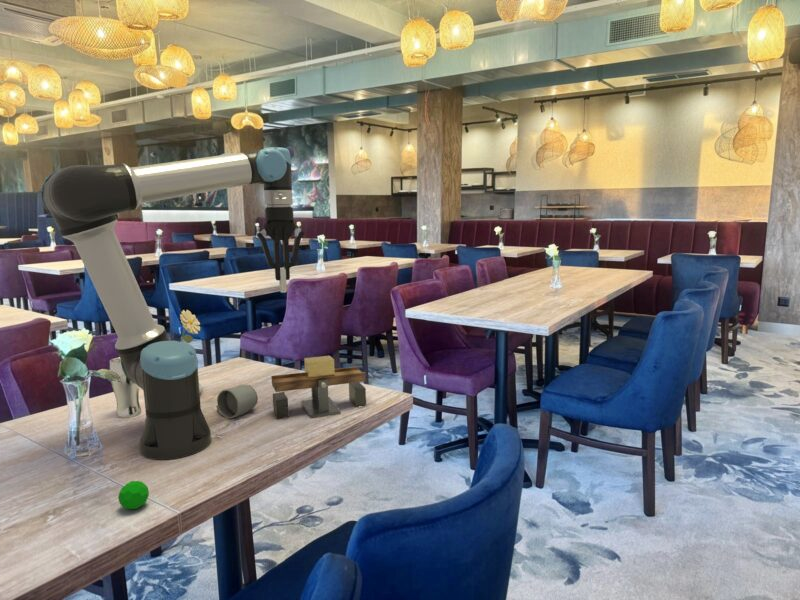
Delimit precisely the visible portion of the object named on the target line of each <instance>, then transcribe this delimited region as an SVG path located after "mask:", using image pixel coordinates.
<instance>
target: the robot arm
mask: <svg viewBox="0 0 800 600" xmlns="http://www.w3.org/2000/svg"><path fill="white" fill-rule="evenodd" d="M291 159H292V158H291V152H290V151H289V149H288V148H286V147H281V146H280V147H277V146H276V147H275V146H274V147H271V146H270V147H265V148H262V149H257V150H250V151H243V152H235V153H234V152H231V153H221V154H220V155H213V156H206V157H205V156H204V157H200V158H191V159H184V160H183V159H182V160H177V161H170V162H162V163H154V164H148V165H139V166H132V167H130V166H128V164H125V163H117V164H102V165H101V164H98V165H94V164H92V165H91V164H89V165H88V164H76V165H71V166H66V167H64V168H63V167H62V168H60V169H58V170H55V171H52V172H51V173H50V174H49V175H48V176H47V177H46V178H45V179H44V181H43V183H42V186H41V190H40V197H41V203H42V205H43V207H44V209H45V210H46V212H47V213H48V214H49V215H50V216H52V219H53V220H54V222H55V224H56V226H57V229H58V231H59V233H60V235H61V237H62V238H64V239H65V240H68V241H70V242H72V243H73V244H74V247H75V248H76V251H77V252H78V255H79V257H80V259H81V262H82V263H83V266H84V268H85V270H86V272H87V274H88V276H89V278H90V280H91V283H92V285H93V287H94V289H95V291H96V293H97V295H98V298H99V299H100V301H101V303H102V305H103V308H104V310H105V312H106V314H107V316H108V319H109V321H110V323H111V326H112V327H113V329H114V331H115V334H116V335H117V340H116V342H115V344H114V349H115V350H116V352H117V354H118V357H120V359H121V366H122V370H123V372H124V374H125V375H126V377H127V378H128V379H129V380H131V381H132V382H133V383H135V384H137V385H138V386H139V389H141V390H142V391H143V397H144V399H143V400H144V408H145V409H144V410H145V421H144V424H143V428H142V432H141V436H140V440H139V446H140V448H139V449H140V453H141V455H142V456H143V457H146V458H148V459H154V460H172V459H178V458H183V457H187V456H191V455H194V454H196V453H199V452H200V451H203V450H204V449H206V448H207V447H208V446H209V445H210V444H211V442H212V434H211V433H212V432H211V428H210V426H209V424H208V422H207V419H206V418H205V415H204V413H203V411H202V406H201V395H200V393H201V392H200V391H199V383H200V380H199V368H198V366H199V360H198V355H197V351H196V348H195V347H194V346H193V345H192V344H190V343H187V342H185V341H182V342H181V341H179V340H175V341H173V340H171V339H170V337H169V335H168V332H167V330H166V328H165V326H164V325H161V324H158V323H156V321H155V320H154V318H153V315H152V313H151V311H150V308H149V305H148V304H147V302H146V300H145V297H144V295H143V293H142V291H141V289H140V286H139V284H138V281H137V279H136V277H135V274H134V272H133V270H132V268H131V265H130V263H129V261H128V258H127V256H126V254H125V251H124V250H123V247H122V245H121V243H120V241H119V238H118V236H117V234H116V231H115V227H116V224H117V222H118V219H117V216H116V215H118V214H121V213H125V212H129V211H136V210H138V208H139V207H140V205H141V204H145V203H147V204H148V203H152V202H158V201H164V200H170V199H175V198H180V197H185V196H191V195H199V194H202V193H203V194H204V193H209V192H215V191H220V190H224V189H225V190H226V189H231V188H237V187H241V186H247V185H248V186H249V185H258V184H259V185H263V193H264V196H263V197H264V199H263V201H264V205H265V206H266V207H265V208H264V211H265V214H264V215H265V217H264V218H265V225H264V227H263V229H262V230H260V231H259V232H257V233H256V237H257V238H258V239H259V241H260V244H261V247H262V250H263V253H264V258H265V260H266V264H267V265H268V266H267V267H269V268H273V269H274V279H275V280H276V281H279V282H278V283H279V284H278V285H279V292H280V293H281V294H282V293H284V294H285V293H287V291H288V288H287V281H288V280H289V281H290V278H291V276H290V275H291V273H290V269H291V268H292V267H295V266H296V265H297V260H298V255H299V250H300V245H301V240H302V238H303V237H304V235H305V232H304V231H301V230H300V229H298V228H296V227H297V226H296V225H295V224H296V223H295V222H294V221H295V219H294V218H295V217H294V208H293V207H292V206H293V203H294V201H293V184H292V183H293V180H292V179H293V178H292V165H293V164H292V160H291ZM293 234H294V241H293V244H292V245H293V247H292V252H291V257H290V248H289V247H290V246H289V245H290V244H289V243H290V242H289V241H290V239H291V237H292V236H293ZM267 235H268V236H269V238H270V239H271V240H272V244H273V258H272V254H271V252H270V248H269V246H268V245H269V244H268V242H267V240H266V238H267ZM280 241H281V243H282V256H283V267H282V268H281V257H280V254H281V253H280ZM273 261H274V262H273ZM178 341H179V342H178Z"/></svg>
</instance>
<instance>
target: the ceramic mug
mask: <svg viewBox="0 0 800 600" xmlns="http://www.w3.org/2000/svg"><path fill="white" fill-rule="evenodd" d="M258 400H259V399H258V394H257V391H256V390H255V388H254V387H253V386H252V385H250V384H240V385H236V386H233V387H229V388H225V389H223V390H221V391H220V392H219V394H218V396H217V399H216V406H215V407H216V410H217V412H220V414H221V415H222V416H224V418H226V419H234V418H236V417H238V416H241V415H243V414H245V413H248V412H250V411H252V410H253V409H254V408H255V407H256V406H257V404H258Z"/></svg>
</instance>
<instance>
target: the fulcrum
mask: <svg viewBox="0 0 800 600" xmlns="http://www.w3.org/2000/svg"><path fill="white" fill-rule="evenodd" d="M361 383H362V382H355V383H348V397H349V398H348V399H349V402H350V403H351V405H352V406H354V408H360V407H359V406H362V407H366V406H367V392H366V391H367V390H366V387H365V386H364V385H363V384H361ZM310 389H311V391H310V392H311V399H304V400H300V404H301V406H302V408H303V409H304V411H305V412H306V414H307V415H308V417H309V419H316V418H322V417H329V415H330V416H336V414H337V415H341V410H340V409H339V407H338V406H337V404H336V403H334V401H333V400H332V398H331V397H330V396H329V386H328V380H327V379H324V380H318V387H314V388H310ZM365 405H366V406H365ZM272 407H273V410H272V411H273V413H274V415H275V418H276V420H282V419H287V418H290V417H289V416H290V415H289V414H290V413H289V412H290V411H289V398H288V396H287V395H286V393H285V391H281V392H273V393H272Z"/></svg>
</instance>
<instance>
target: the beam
mask: <svg viewBox="0 0 800 600" xmlns="http://www.w3.org/2000/svg"><path fill="white" fill-rule="evenodd" d="M334 370H335V376H326V377H318V378H309V379H307V378H306V377H305V371H304V372H295V373H287V374H278V375H270V376H271V386H272V388H273V390H274V393H280V392H288V391H297V390H304V389H311V388H314V387H318V380H324V379H327V380H328V387H330V386H337V385H347V384H349V383H355V382H360V383H363V382H366V381H367V380H366V375H367V374H366V371H361V370H360V367H359V366H350V367H340V368H334Z"/></svg>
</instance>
